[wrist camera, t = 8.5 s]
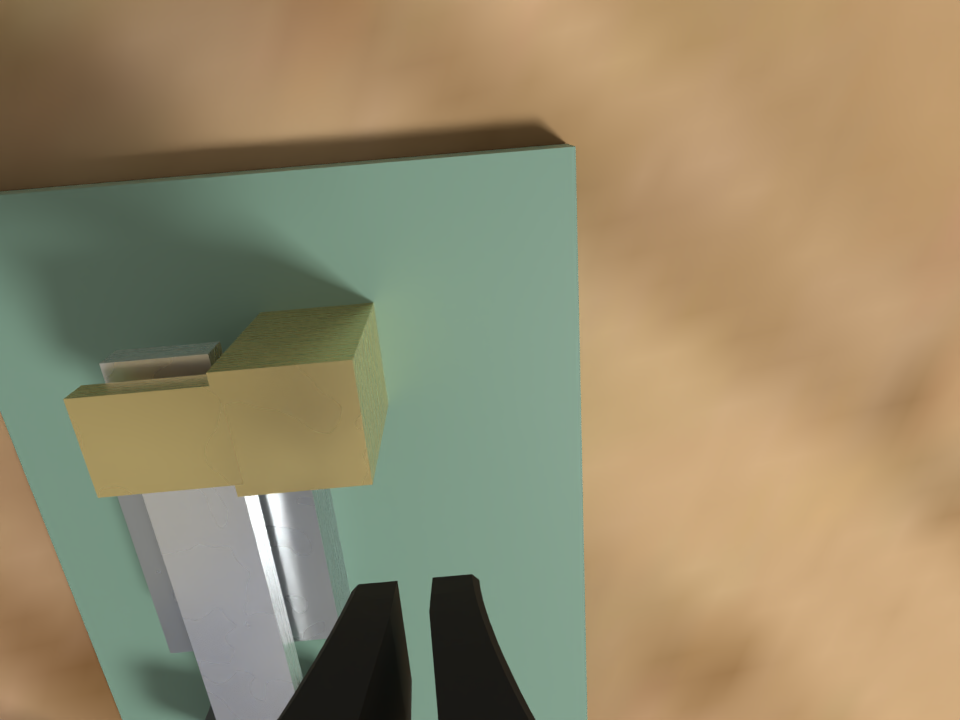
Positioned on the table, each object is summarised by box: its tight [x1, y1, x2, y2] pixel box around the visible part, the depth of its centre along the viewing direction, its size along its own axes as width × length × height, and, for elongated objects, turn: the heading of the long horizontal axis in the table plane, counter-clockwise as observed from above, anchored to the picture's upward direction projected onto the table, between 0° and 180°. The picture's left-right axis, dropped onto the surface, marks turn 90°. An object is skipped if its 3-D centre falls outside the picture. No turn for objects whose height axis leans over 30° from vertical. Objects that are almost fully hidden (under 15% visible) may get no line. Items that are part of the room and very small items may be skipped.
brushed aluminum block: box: [117, 489, 350, 653], centre depth 19 cm, size 6×5×2 cm
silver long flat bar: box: [99, 341, 303, 720], centre depth 17 cm, size 14×2×1 cm, turn 4°
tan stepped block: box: [63, 303, 388, 498], centre depth 16 cm, size 3×6×4 cm, turn 94°
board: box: [0, 144, 587, 720], centre depth 18 cm, size 20×16×5 cm
